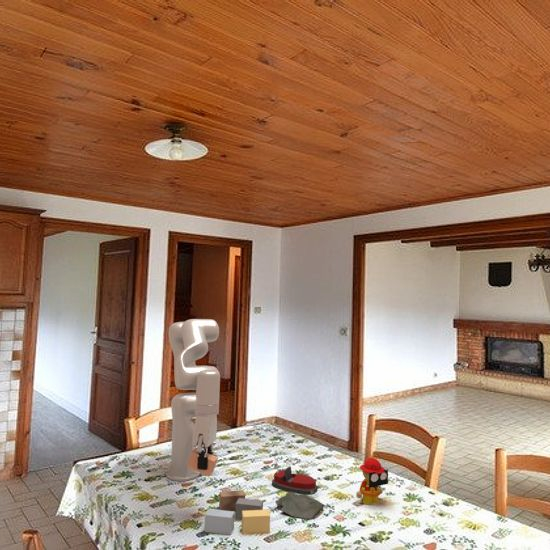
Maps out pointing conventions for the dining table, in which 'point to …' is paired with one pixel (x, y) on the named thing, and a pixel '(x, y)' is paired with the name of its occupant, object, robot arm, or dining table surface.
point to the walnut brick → (230, 499)
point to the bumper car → (293, 481)
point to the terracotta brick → (194, 460)
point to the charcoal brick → (247, 506)
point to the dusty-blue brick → (219, 521)
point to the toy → (372, 481)
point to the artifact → (300, 505)
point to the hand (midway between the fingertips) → (204, 466)
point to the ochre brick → (255, 521)
